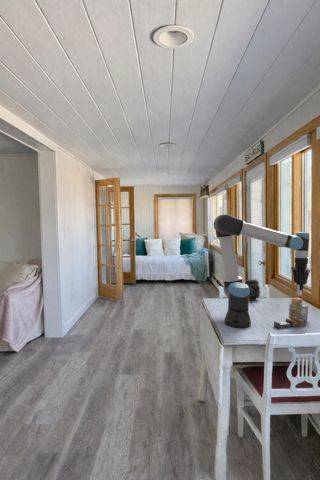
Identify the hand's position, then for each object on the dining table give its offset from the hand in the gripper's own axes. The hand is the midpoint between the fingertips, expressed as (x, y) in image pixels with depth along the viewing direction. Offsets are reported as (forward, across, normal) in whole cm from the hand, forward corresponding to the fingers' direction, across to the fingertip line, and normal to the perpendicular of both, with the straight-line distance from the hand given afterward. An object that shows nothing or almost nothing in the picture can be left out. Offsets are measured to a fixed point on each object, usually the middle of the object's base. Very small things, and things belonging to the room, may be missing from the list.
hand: (299, 294), depth 194 cm
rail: (+16, -8, +14) cm, 22 cm away
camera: (+16, +49, -3) cm, 52 cm away
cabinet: (+16, 0, 0) cm, 16 cm away
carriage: (+16, -8, +11) cm, 20 cm away
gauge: (+9, 0, 0) cm, 9 cm away
